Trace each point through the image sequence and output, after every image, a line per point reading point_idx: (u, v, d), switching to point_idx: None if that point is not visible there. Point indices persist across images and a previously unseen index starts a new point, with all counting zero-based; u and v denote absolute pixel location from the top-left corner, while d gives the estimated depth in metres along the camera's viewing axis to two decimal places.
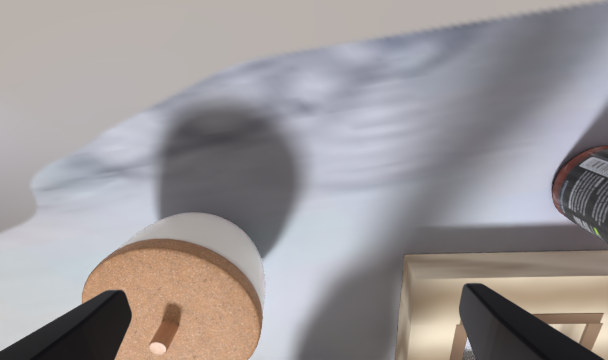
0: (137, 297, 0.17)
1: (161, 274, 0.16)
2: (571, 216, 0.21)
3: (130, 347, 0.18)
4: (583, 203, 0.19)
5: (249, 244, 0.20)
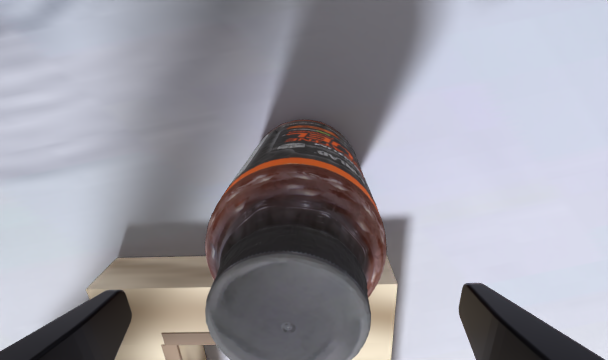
0: None
1: None
2: None
3: None
4: None
5: None
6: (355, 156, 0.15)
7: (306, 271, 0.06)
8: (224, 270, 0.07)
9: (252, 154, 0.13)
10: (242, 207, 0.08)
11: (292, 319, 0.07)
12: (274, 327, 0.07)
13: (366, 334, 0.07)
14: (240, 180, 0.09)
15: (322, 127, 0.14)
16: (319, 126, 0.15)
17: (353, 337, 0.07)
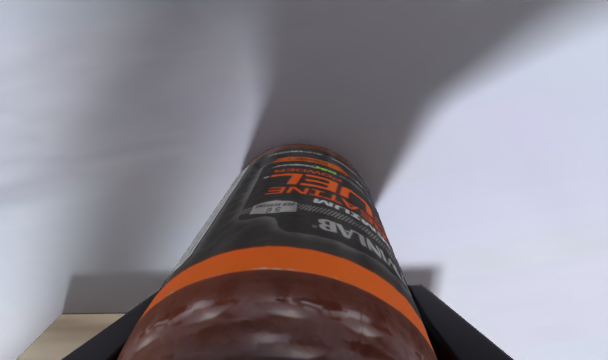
0: None
1: None
2: None
3: None
4: None
5: None
6: (371, 198, 0.11)
7: None
8: None
9: (218, 206, 0.08)
10: None
11: None
12: None
13: None
14: (169, 297, 0.05)
15: (324, 158, 0.10)
16: (320, 157, 0.10)
17: None
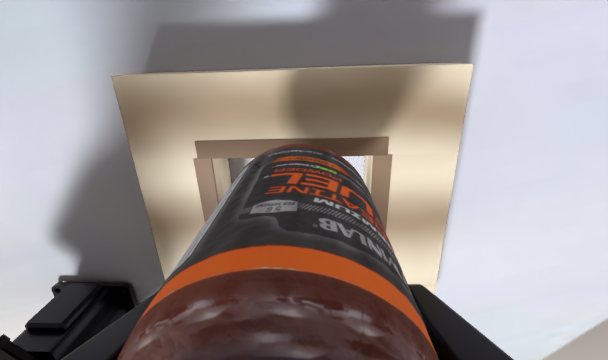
0: None
1: None
2: None
3: None
4: None
5: None
6: (371, 198, 0.11)
7: None
8: None
9: (218, 205, 0.08)
10: None
11: None
12: None
13: None
14: (169, 297, 0.05)
15: (324, 158, 0.10)
16: (320, 156, 0.10)
17: None
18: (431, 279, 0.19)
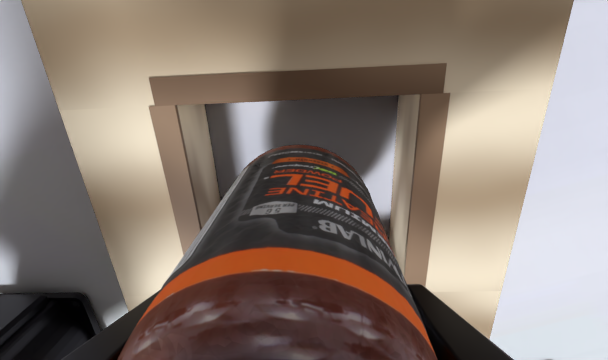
0: None
1: None
2: None
3: None
4: None
5: None
6: (371, 199, 0.10)
7: None
8: None
9: (218, 206, 0.08)
10: None
11: None
12: None
13: None
14: (168, 299, 0.05)
15: (324, 159, 0.10)
16: (320, 157, 0.10)
17: None
18: (495, 281, 0.14)
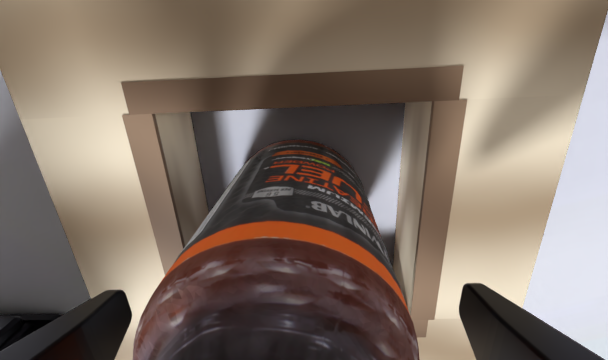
0: None
1: None
2: None
3: None
4: None
5: None
6: (363, 189, 0.11)
7: None
8: None
9: (223, 194, 0.09)
10: (180, 320, 0.05)
11: None
12: None
13: None
14: (185, 262, 0.06)
15: (320, 152, 0.11)
16: (316, 151, 0.11)
17: None
18: None
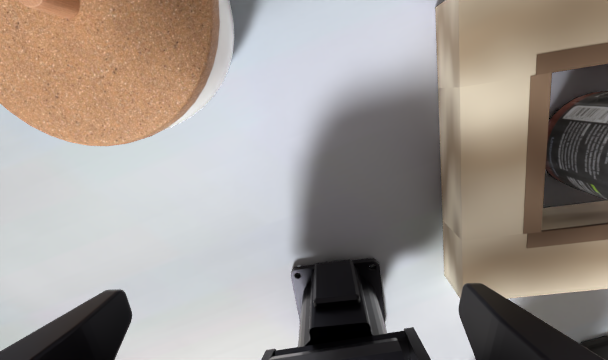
0: None
1: None
2: (565, 178, 0.18)
3: (16, 65, 0.12)
4: (573, 157, 0.16)
5: None
6: None
7: None
8: None
9: None
10: None
11: None
12: None
13: None
14: None
15: None
16: None
17: None
18: None
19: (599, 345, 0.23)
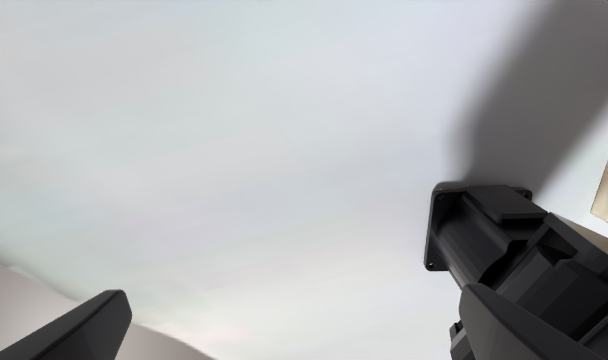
0: None
1: None
2: None
3: None
4: None
5: None
6: None
7: None
8: None
9: None
10: None
11: None
12: None
13: None
14: None
15: None
16: None
17: None
18: None
19: None
